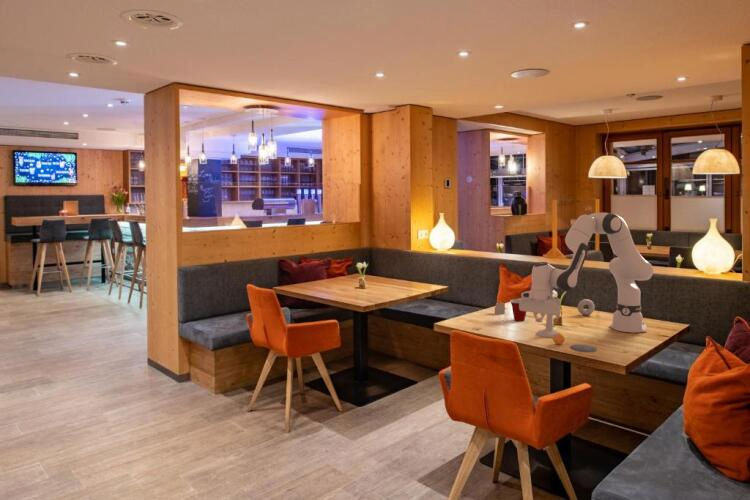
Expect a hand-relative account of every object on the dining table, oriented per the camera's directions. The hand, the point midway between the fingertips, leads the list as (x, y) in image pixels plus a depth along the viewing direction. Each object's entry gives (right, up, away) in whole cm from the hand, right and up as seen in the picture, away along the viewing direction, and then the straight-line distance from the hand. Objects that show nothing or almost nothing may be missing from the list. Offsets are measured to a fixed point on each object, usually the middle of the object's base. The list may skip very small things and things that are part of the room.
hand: (538, 321), depth 280 cm
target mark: (+18, -11, -12) cm, 24 cm away
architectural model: (-6, -4, +61) cm, 62 cm away
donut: (+45, -4, +56) cm, 72 cm away
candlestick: (+9, -9, +13) cm, 18 cm away
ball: (+8, -8, -5) cm, 13 cm away
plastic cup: (+2, -5, +45) cm, 45 cm away
